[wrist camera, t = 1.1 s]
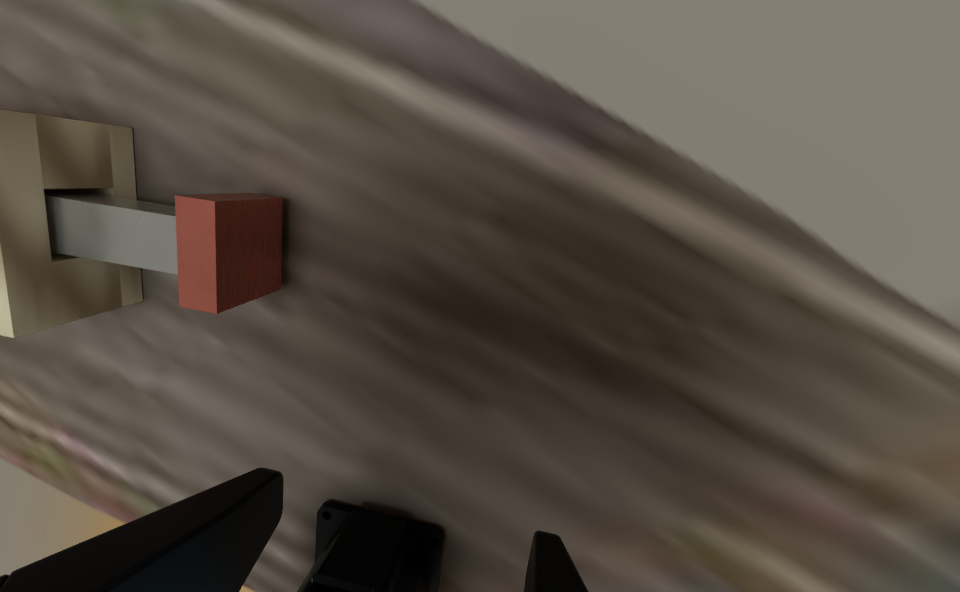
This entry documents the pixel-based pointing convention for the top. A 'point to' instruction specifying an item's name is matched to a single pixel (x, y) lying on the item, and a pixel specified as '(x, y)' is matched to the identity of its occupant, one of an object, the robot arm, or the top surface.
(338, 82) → the top surface
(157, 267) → the pin
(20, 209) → the block
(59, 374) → the top surface
